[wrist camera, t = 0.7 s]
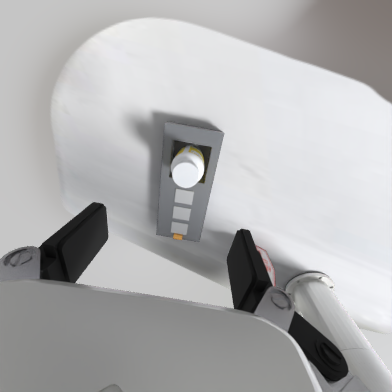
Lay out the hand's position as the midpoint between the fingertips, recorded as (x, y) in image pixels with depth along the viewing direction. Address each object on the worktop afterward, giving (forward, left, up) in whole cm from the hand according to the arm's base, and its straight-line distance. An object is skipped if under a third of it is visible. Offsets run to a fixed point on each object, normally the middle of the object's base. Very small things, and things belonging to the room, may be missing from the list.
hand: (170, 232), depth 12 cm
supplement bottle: (-1, 0, -23) cm, 23 cm away
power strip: (-7, 0, -23) cm, 24 cm away
